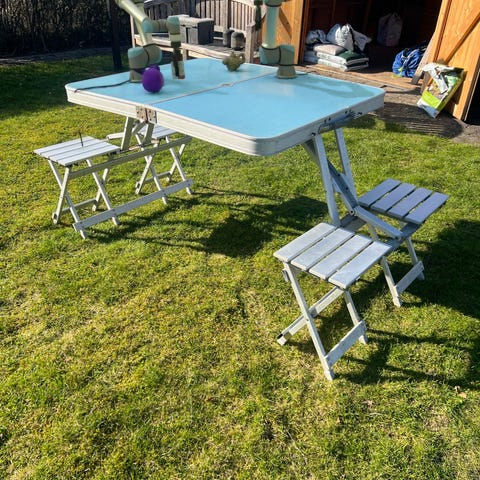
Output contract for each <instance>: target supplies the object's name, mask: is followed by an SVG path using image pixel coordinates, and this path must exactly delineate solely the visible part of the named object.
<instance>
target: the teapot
mask: <svg viewBox="0 0 480 480" xmlns="http://www.w3.org/2000/svg"><path fill="white" fill-rule="evenodd" d="M245 62H246V55H245V53H244V52H239V53H238V54H236V53H235V51H234V50H232V51H231V53H230V54H229V56H227V57H226V56H225V57H224V58H222V60H221V64H222V65H224V66H226V68H227V70H228V71H230V72H232V71H234V72H235V71H237V70H238V69H239V68H240V67H241V65H244V64H245Z"/></svg>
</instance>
